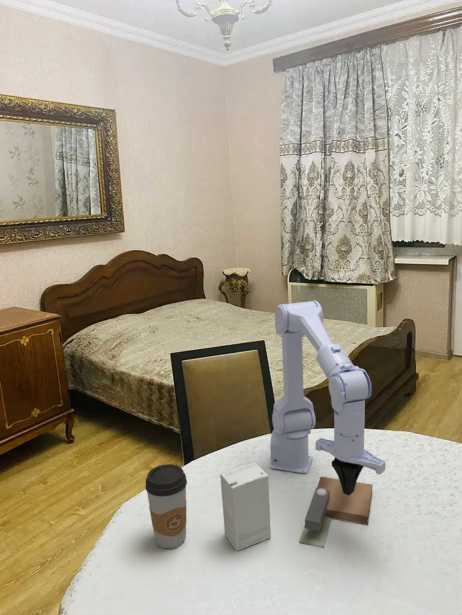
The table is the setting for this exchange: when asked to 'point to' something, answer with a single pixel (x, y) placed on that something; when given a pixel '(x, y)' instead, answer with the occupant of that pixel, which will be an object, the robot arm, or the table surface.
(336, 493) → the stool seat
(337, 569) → the table surface
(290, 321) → the robot arm
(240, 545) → the skincare box
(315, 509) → the gray rectangular bar
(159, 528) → the coffee cup
